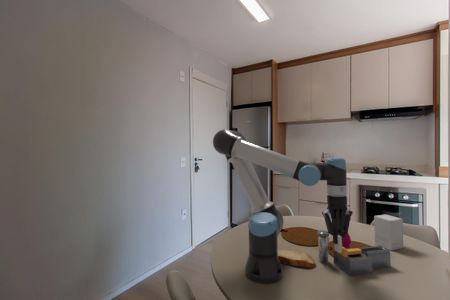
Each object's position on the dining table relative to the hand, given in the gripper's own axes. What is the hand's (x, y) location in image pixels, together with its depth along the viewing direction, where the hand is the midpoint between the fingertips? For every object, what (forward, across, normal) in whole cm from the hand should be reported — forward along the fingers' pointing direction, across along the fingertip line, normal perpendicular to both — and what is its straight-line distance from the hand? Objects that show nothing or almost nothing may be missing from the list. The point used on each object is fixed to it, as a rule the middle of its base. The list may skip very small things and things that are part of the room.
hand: (338, 251), depth 93 cm
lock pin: (+2, +6, 0) cm, 6 cm away
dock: (+8, +12, 0) cm, 15 cm away
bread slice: (+8, -16, +12) cm, 21 cm away
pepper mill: (+8, +15, +17) cm, 25 cm away
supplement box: (+9, +40, +16) cm, 44 cm away
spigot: (+8, -2, +8) cm, 12 cm away
